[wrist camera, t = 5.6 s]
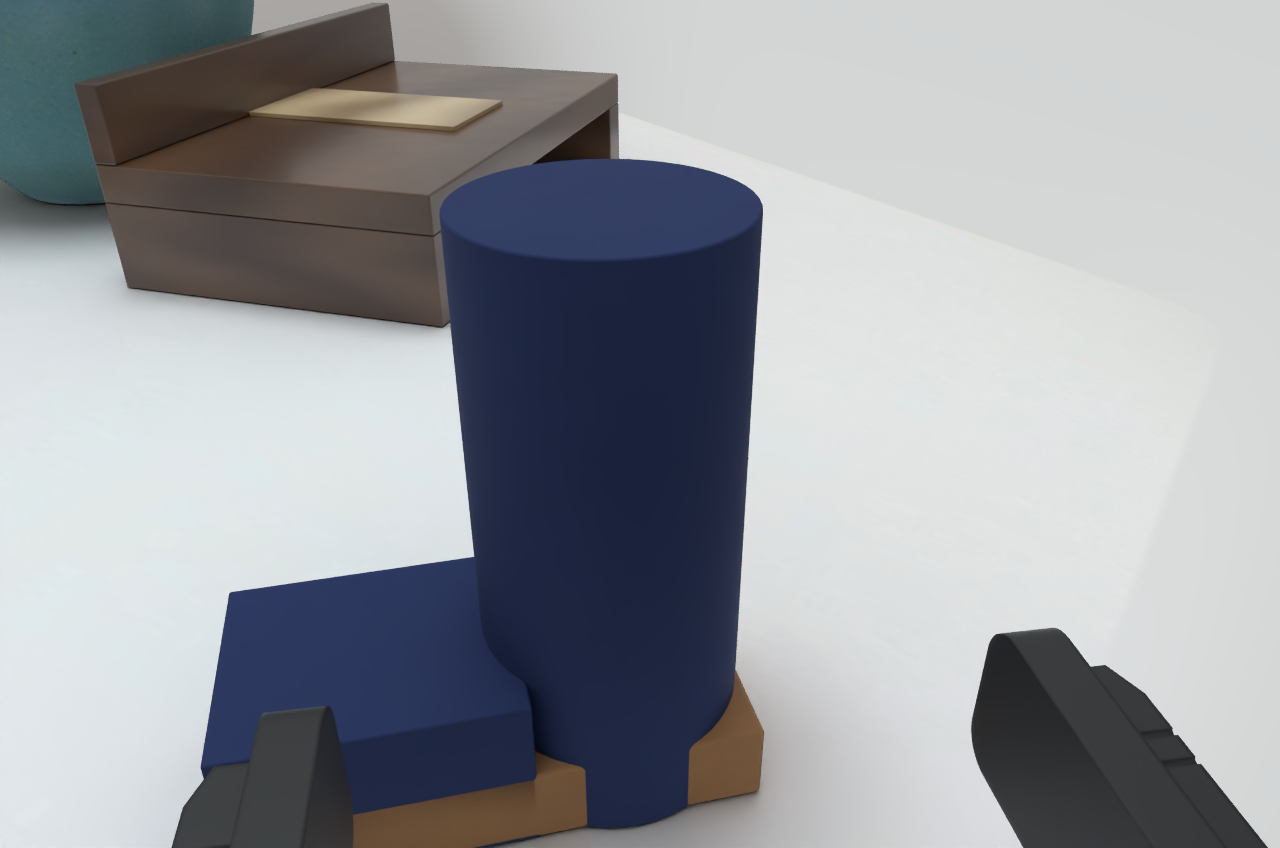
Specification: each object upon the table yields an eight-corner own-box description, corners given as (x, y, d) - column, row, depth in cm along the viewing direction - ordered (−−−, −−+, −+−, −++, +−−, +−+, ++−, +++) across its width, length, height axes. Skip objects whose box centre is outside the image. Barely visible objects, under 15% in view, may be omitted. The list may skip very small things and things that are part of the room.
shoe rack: (619, 167, 56) (617, 12, 52) (443, 327, 38) (419, 107, 34) (390, 149, 59) (372, 2, 55) (127, 287, 41) (72, 83, 37)
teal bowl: (162, 253, 44) (86, -56, 38) (-185, 225, 48) (-307, -64, 42) (348, 147, 60) (315, -86, 54) (76, 131, 63) (15, -90, 57)
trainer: (693, 633, 23) (708, 149, 18) (764, 800, 19) (814, 242, 14) (260, 705, 21) (128, 189, 16) (238, 909, 17) (49, 309, 12)
